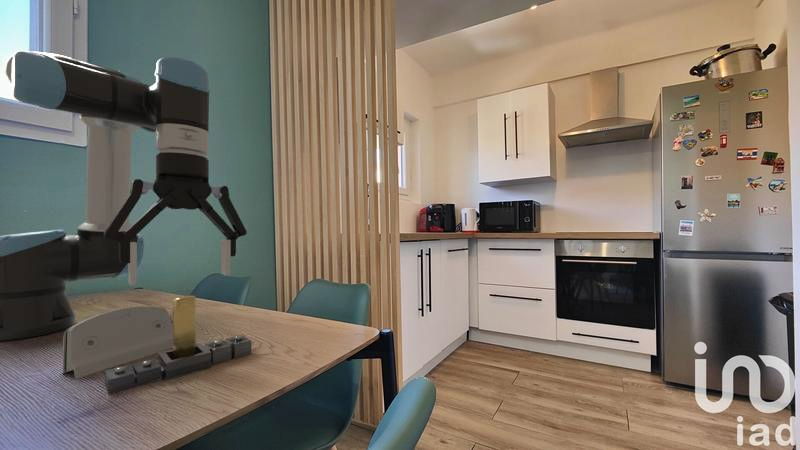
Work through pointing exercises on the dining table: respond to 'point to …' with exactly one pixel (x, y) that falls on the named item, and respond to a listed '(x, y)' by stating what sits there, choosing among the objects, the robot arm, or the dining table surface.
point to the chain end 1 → (145, 374)
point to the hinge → (116, 339)
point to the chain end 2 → (209, 353)
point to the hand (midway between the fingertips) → (183, 279)
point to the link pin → (184, 326)
